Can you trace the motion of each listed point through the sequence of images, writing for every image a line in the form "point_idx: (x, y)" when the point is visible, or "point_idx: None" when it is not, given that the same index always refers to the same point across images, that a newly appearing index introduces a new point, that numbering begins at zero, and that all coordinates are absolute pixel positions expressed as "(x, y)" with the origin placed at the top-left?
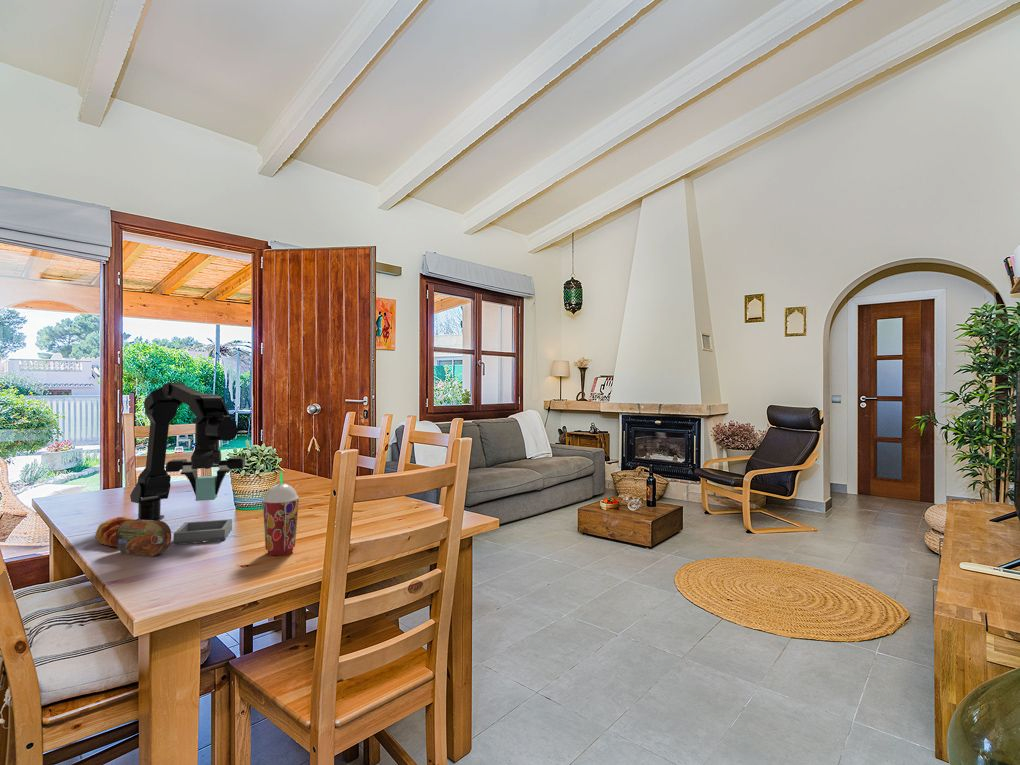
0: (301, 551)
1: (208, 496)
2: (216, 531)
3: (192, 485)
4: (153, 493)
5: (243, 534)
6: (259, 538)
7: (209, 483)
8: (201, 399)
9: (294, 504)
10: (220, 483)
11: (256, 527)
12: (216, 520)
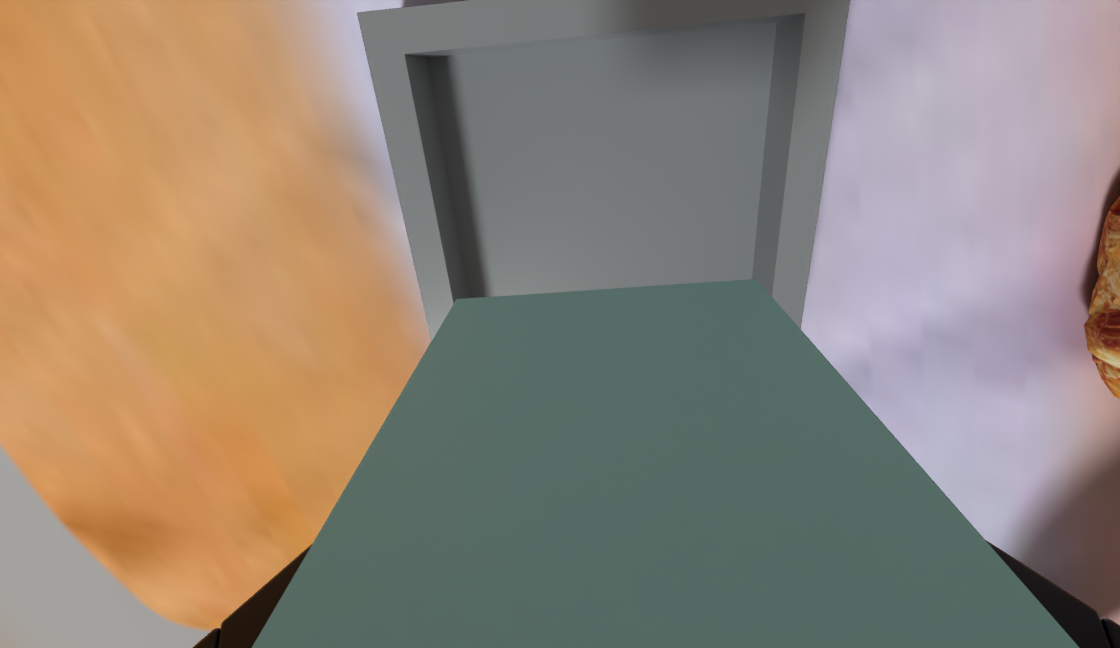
0: None
1: (541, 319)
2: (439, 8)
3: (1040, 596)
4: None
5: (327, 202)
6: (132, 30)
7: (470, 560)
8: None
9: None
10: (235, 628)
11: (319, 372)
12: None
